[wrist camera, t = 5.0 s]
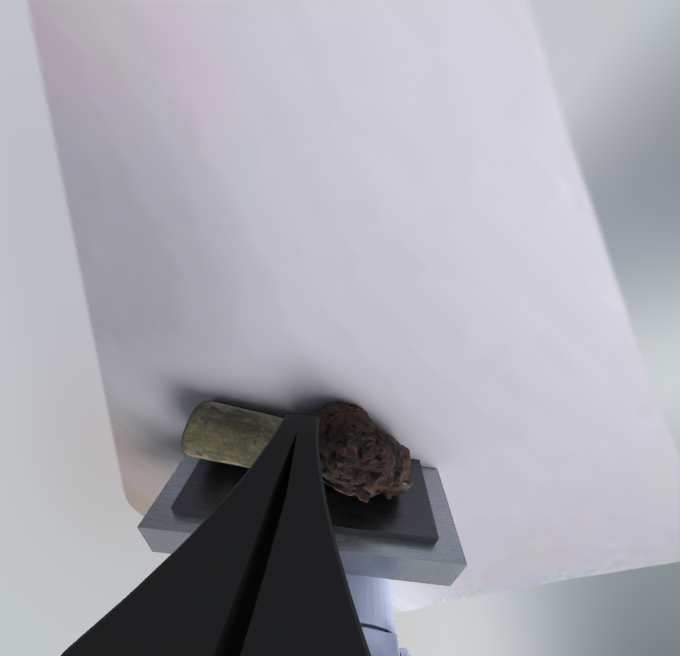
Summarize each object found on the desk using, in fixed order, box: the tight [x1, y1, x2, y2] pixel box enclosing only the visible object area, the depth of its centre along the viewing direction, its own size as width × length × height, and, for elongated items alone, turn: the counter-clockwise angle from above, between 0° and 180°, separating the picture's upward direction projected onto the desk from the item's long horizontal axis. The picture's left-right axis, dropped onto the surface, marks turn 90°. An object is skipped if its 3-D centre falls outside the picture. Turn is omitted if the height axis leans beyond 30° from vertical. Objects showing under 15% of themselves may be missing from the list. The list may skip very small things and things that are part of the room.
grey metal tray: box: [138, 455, 467, 586], centre depth 21 cm, size 5×24×7 cm, turn 85°
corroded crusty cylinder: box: [181, 401, 412, 503], centre depth 19 cm, size 18×7×6 cm, turn 79°
